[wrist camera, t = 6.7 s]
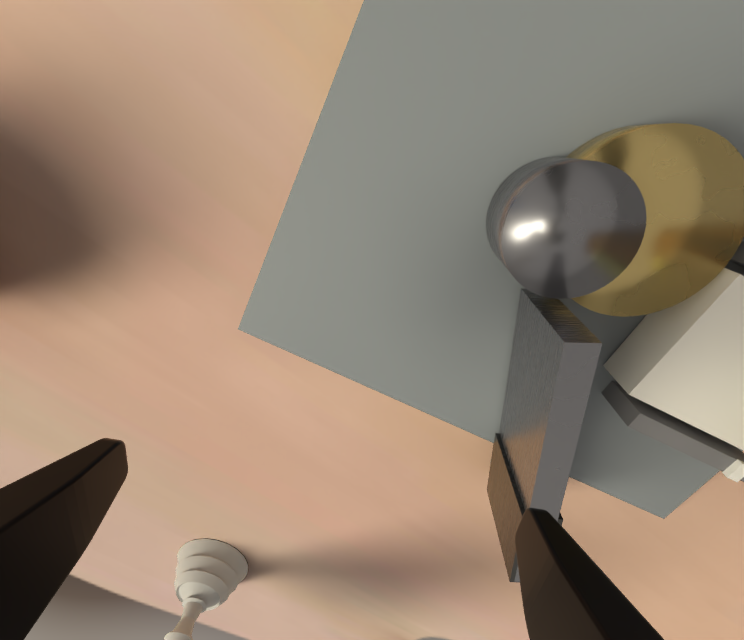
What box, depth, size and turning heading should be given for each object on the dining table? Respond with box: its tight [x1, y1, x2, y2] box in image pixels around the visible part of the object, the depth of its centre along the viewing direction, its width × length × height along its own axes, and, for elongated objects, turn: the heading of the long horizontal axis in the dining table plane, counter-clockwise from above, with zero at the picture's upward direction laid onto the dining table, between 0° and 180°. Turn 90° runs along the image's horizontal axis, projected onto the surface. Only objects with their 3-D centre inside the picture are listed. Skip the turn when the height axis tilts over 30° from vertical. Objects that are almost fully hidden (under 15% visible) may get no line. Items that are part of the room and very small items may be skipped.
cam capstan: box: [486, 123, 744, 582], centre depth 17 cm, size 9×18×5 cm, turn 0°
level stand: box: [238, 0, 744, 519], centre depth 16 cm, size 22×26×4 cm
